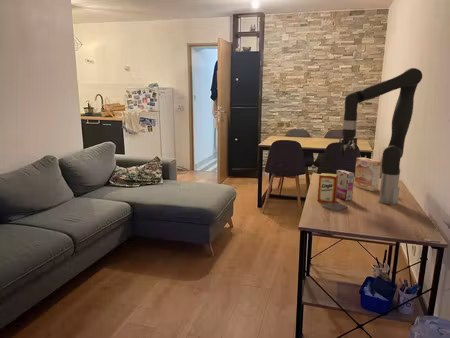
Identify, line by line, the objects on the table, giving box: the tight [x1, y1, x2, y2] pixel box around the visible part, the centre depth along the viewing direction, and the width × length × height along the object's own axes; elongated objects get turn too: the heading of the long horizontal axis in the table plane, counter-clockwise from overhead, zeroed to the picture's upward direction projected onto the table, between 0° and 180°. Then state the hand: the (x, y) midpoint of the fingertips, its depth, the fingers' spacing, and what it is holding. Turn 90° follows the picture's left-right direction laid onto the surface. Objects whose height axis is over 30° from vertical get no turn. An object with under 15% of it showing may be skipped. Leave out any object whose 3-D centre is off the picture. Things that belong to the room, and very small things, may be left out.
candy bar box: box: [336, 169, 355, 202], centre depth 210 cm, size 11×5×16 cm, turn 17°
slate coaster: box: [321, 202, 348, 212], centre depth 195 cm, size 10×10×1 cm
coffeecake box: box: [353, 157, 382, 192], centre depth 234 cm, size 15×7×20 cm, turn 25°
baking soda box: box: [317, 172, 338, 204], centre depth 204 cm, size 10×6×16 cm
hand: (347, 155), depth 207 cm, fingers open, 8 cm apart
